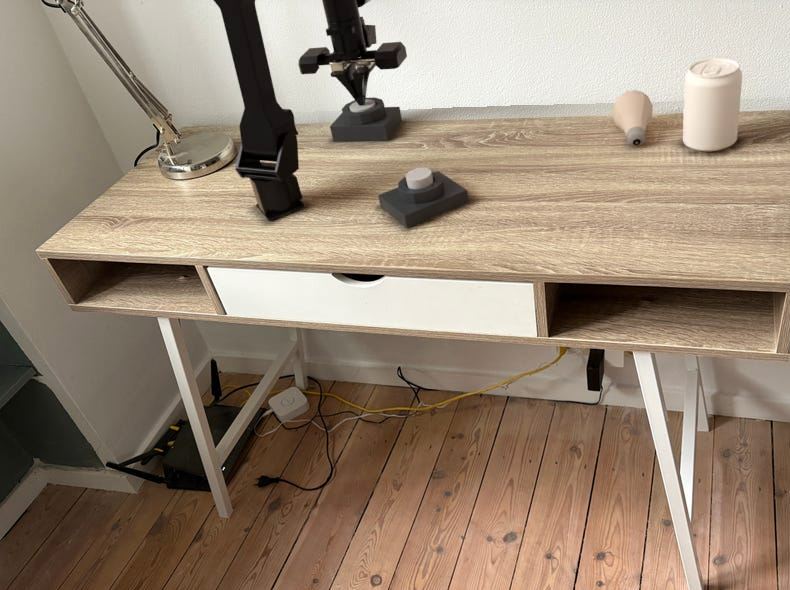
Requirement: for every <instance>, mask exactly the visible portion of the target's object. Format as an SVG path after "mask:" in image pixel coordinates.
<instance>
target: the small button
mask: <svg viewBox="0 0 790 590" xmlns="http://www.w3.org/2000/svg"><path fill="white" fill-rule="evenodd" d="M432 172H433V171H432V169H430V168H428V167H416V168H413V169H411V170H409V171H408V172H406V174H405V177H406V180H407V185H408V188H409V189H423V188H426V187H429V186H431V185H432V184H433V176H432Z"/></svg>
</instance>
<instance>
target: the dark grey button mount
mask: <svg viewBox="0 0 790 590" xmlns="http://www.w3.org/2000/svg"><path fill="white" fill-rule="evenodd" d="M366 99H370V100H374V101H375V104H376V106H375V107H374V108H372V109H370V110H368V111H364V112H351V111H350V105H351V104H352V103H354V102H356V101H355V99H354V100H352V101H350V102H348V103H346V104H344V106H343V107H341V113H340V114H339V115H338V117H337V118H336V119H335V120H334V121H333V122H332V123H331V125H330V126H329V128H330V132H331V136H332V141H333V142H387V141H389V140H390V139H391V137H392V136H393V135H394V133H395V132H396V131H397V130H398V128H399V127H400V126H401V124H402V123H403V118H402V112H401V108H400V106H385V103H384V100H383V99H382V98H379V97H376V96H375V97H366Z"/></svg>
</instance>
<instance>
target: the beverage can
mask: <svg viewBox="0 0 790 590" xmlns="http://www.w3.org/2000/svg"><path fill="white" fill-rule="evenodd" d="M742 83H743V71H742V70H741V69H740V64H739V62H738V61H736V60H734V59H731V58H725V57H711V58H704V59H700V60H697V61H695V62H693V63H691V64H690V65H689V67H688V71H687V72H686V74H685V77H684V92H683V94H684V95H683V118H682V121H683V123H682V142H683V144H684V145H685V146H686V147H688V148H690V149H692V150H695V151H699V152H707V153H708V152H716V151H717V152H718V151H722V150H724V149H726V148H730V147H731V146H733V145H734V144H735V143H736V142H737V140H738V132H739V123H740V121H739V120H740V109H741V96H742V95H741V94H742Z"/></svg>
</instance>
